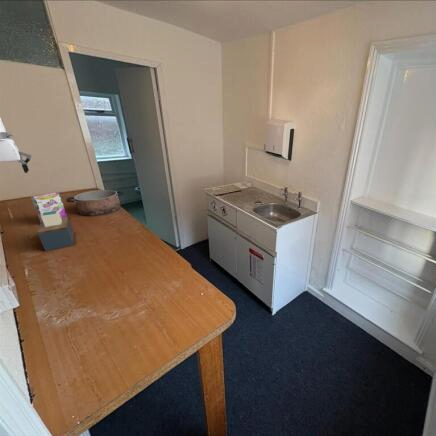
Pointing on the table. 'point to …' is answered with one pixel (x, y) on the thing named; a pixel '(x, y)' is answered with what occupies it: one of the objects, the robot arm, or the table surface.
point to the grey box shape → (56, 235)
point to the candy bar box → (48, 204)
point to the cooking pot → (97, 202)
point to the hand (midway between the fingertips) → (12, 173)
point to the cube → (51, 218)
